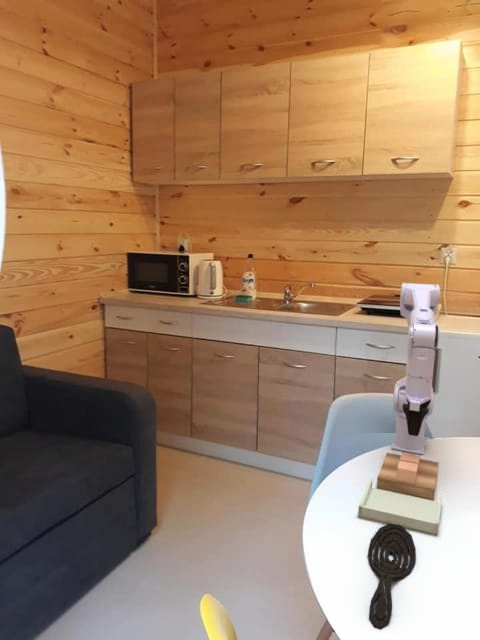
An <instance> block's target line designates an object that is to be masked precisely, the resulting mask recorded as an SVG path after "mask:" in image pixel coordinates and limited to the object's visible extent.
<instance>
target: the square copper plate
mask: <svg viewBox="0 0 480 640" xmlns="http://www.w3.org/2000/svg"><path fill="white" fill-rule="evenodd" d="M401 455H402V454H397V453H392V452H391V453H390V452H386V453H385V457H384V459H383V462H382V464H381V467H380V470H379V472H378V476H377V479H376V488H377V489H381V490H386V491H391V492H395V493H400V494H405V495H409V496H414V497H419V498H423V499H428V500H433V501H435V493H436V488H437V487H436V486H437V479H438V472H439V462H438V461H434V460H433V461H432V460H428V459H422V458H420V462H419V470H418V474H417V479H416V483H415V484H411V483H406V482H401V481H396V478H397V468H398V464H399V461H400V458H401Z"/></svg>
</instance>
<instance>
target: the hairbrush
mask: <svg viewBox="0 0 480 640" xmlns="http://www.w3.org/2000/svg"><path fill="white" fill-rule="evenodd" d="M396 523H397V522H396ZM399 524H400V522H399ZM403 526H404V525H403ZM376 529H377V531H376V530H375V532H374V533H373V534H372V535H373V536H371V538H370V542H369V546H368V551H367V559H368V565H369V567H370V569H371V571H372V572H373V573H374V574H375V575H376V577H378V578H379V580H378V584H377V587H376V589H375V592H374V593H373V595H372V598H371V600H370V604H369V614H368V616H369V617H368V618H369V621H370V623H371V625H372V626H373V628H375V629H379V630H384V628H385V627H387V626H388V625H389V624H390V620H391V618H392V612H393V600H392V585H393V582H397V581H401V580H403V579H406V578H407V577H408V576H409V575H411V573H412V571H413V570H414V568H415V566H416V560H417V557H416V556H417V555H416V554H417V551H416V548H417V547H416V545H415V542H414V538H413V535H412V534H411V533H410V530H408V529H405V528H403V527H402V526H401V525H398V524H391V523H390V524H384V525H382V526H379V528H378V527H376ZM390 556H391V557H392V558H393V559H390V558H391V557H390Z"/></svg>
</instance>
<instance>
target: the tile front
mask: <svg viewBox="0 0 480 640" xmlns="http://www.w3.org/2000/svg"><path fill="white" fill-rule="evenodd" d="M417 472H418V464H416V463H411V462H405V461H399V464H398V468H397V478H396V481H401V482H406V483H411V484H415V483H416V479H417Z"/></svg>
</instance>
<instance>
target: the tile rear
mask: <svg viewBox="0 0 480 640" xmlns="http://www.w3.org/2000/svg"><path fill="white" fill-rule="evenodd" d="M400 455H401V458H400V461H405V462H411V463H416V464H418V470H419V462H420V459H421V455H419V454H414V453H409V452H401V454H400ZM417 474H418V472H417Z"/></svg>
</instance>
